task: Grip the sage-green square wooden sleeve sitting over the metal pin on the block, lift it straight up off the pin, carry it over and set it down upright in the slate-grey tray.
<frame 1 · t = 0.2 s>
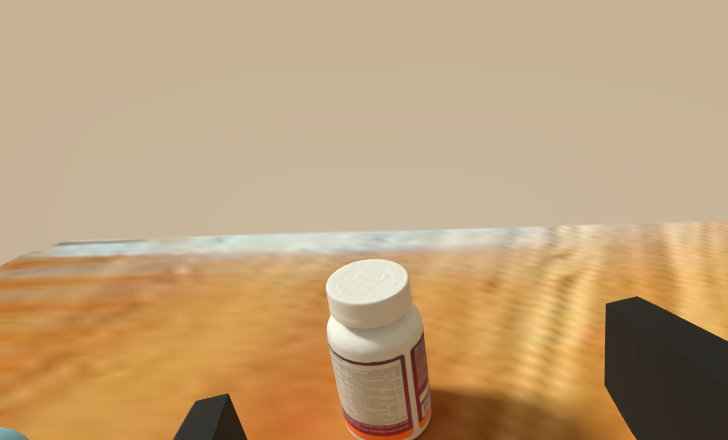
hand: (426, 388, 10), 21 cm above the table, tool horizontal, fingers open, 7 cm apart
pill bottle: (388, 418, 38), on the table
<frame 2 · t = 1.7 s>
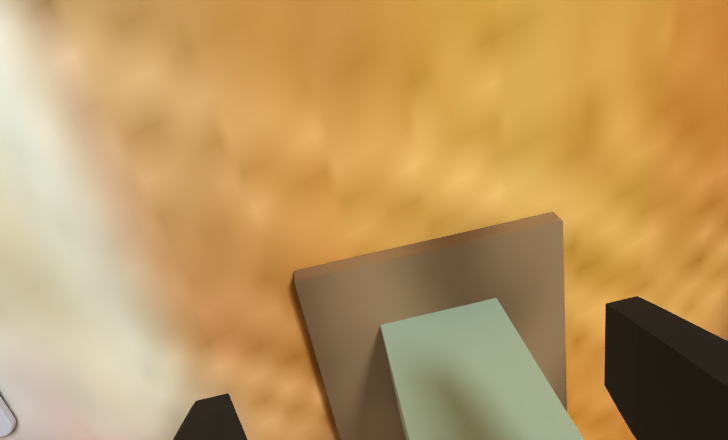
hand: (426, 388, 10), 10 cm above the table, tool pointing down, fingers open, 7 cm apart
green sleeve: (445, 356, 22), point 1 cm above the table, touching pin block
pin block: (440, 344, 23), on the table
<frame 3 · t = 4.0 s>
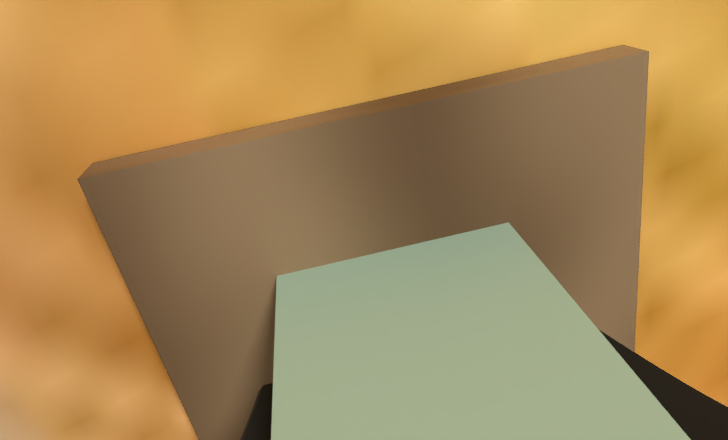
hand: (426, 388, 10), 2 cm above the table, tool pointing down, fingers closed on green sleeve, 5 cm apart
green sleeve: (411, 341, 11), point 1 cm above the table, touching gripper, pin block
pin block: (403, 318, 12), on the table
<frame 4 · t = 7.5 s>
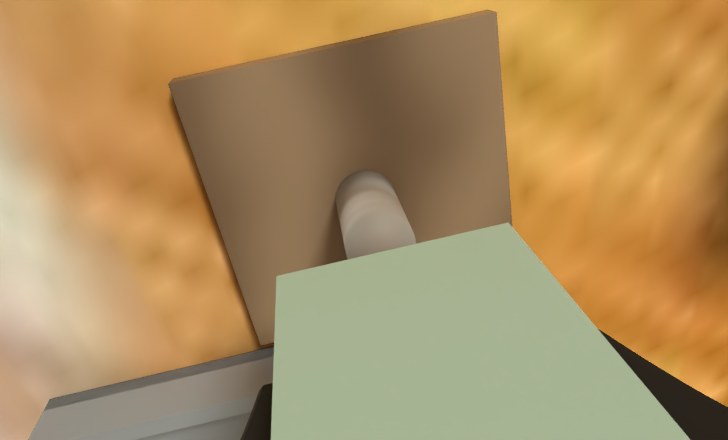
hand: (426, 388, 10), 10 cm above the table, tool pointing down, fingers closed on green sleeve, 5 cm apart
green sleeve: (410, 341, 11), point 8 cm above the table, touching gripper
pin block: (362, 188, 19), on the table
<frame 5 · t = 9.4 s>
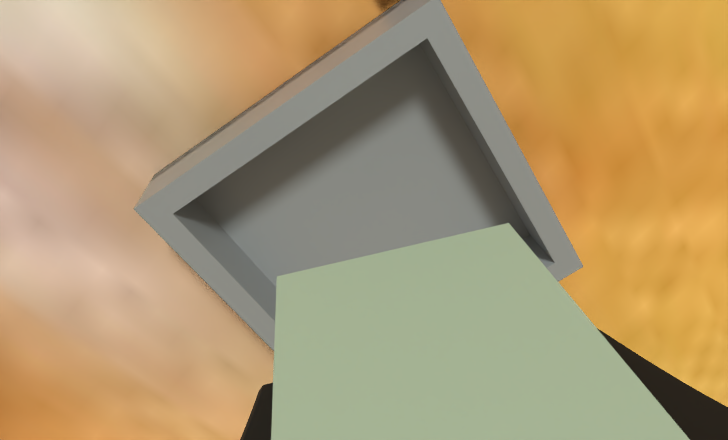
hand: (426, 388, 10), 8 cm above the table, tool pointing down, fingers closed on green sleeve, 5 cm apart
green sleeve: (411, 341, 11), point 7 cm above the table, touching gripper
grey tray: (366, 204, 18), on the table
when the fingers open (3 cm above the table, at t = 10.9 s): green sleeve drops 1 cm, resting on grey tray.
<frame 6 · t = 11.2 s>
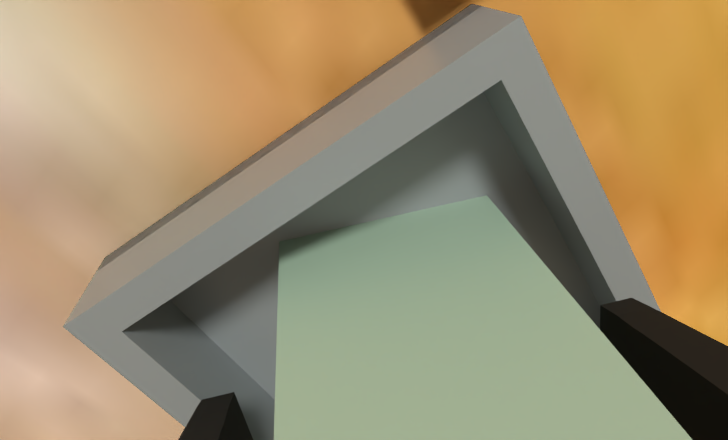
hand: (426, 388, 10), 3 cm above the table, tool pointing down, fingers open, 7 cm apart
green sleeve: (399, 304, 13), point 1 cm above the table, touching grey tray
grey tray: (394, 289, 13), on the table
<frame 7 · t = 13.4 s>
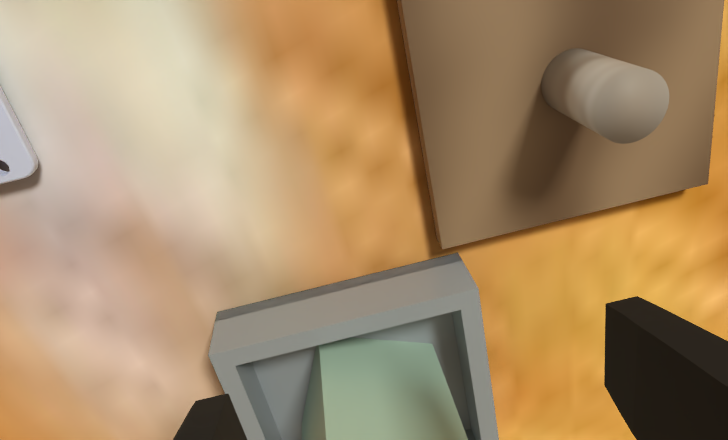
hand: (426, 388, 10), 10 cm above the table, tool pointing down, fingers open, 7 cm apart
green sleeve: (365, 384, 22), point 1 cm above the table, touching grey tray
pin block: (560, 75, 18), on the table
grey tray: (363, 374, 23), on the table
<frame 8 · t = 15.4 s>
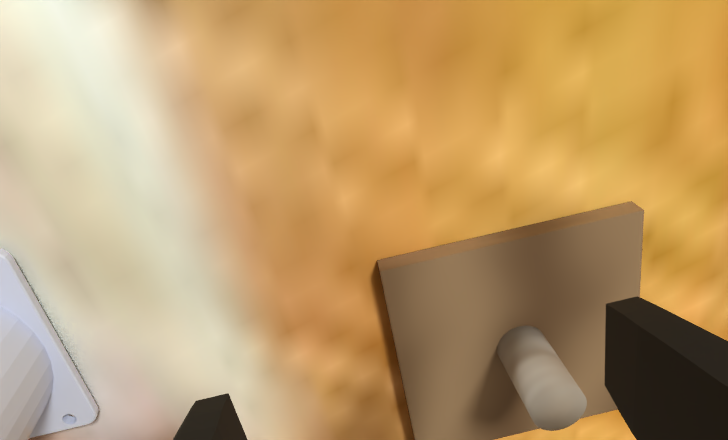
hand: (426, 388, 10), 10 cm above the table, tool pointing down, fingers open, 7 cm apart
pin block: (513, 333, 23), on the table
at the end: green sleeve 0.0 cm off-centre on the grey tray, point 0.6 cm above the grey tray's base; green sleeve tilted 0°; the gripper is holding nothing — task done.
